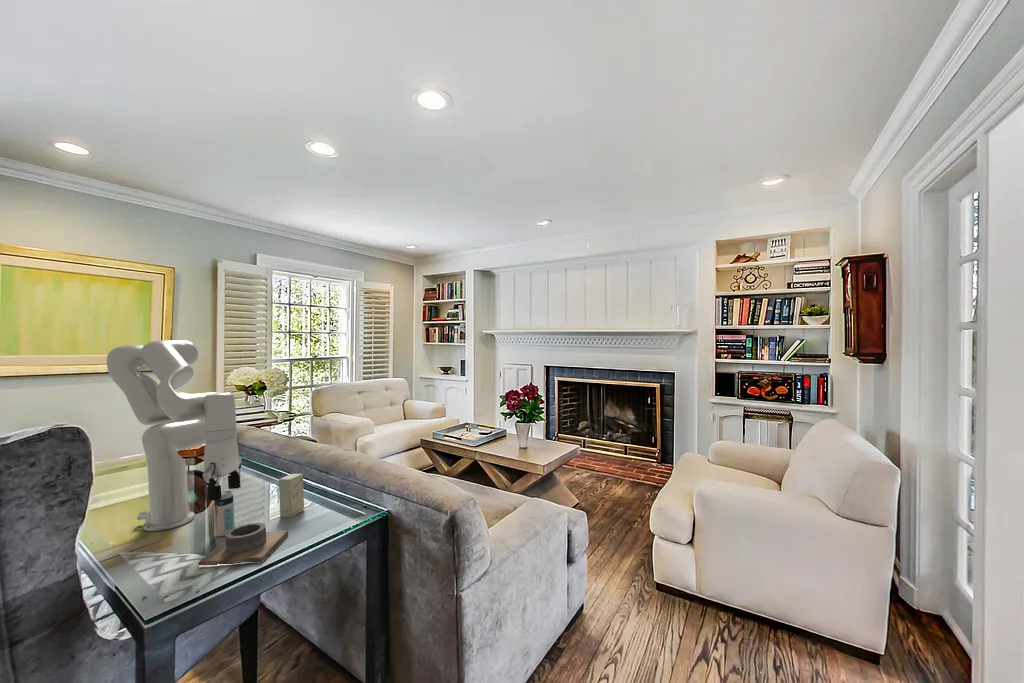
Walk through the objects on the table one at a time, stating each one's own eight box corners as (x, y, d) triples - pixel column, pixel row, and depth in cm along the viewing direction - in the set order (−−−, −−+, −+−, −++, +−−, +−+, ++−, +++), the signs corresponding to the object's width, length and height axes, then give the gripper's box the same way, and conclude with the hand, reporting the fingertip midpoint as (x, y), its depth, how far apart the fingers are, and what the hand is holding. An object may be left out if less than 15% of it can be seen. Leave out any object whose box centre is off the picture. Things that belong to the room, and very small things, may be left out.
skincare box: (291, 518, 132) (289, 479, 132) (279, 517, 133) (277, 479, 133) (305, 510, 138) (303, 473, 138) (293, 509, 139) (291, 473, 139)
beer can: (221, 531, 125) (219, 490, 125) (238, 529, 125) (236, 489, 125) (211, 538, 120) (209, 496, 120) (228, 537, 120) (227, 495, 120)
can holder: (198, 568, 104) (197, 546, 104) (232, 539, 118) (231, 520, 118) (262, 562, 105) (261, 540, 105) (288, 535, 120) (287, 516, 120)
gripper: (225, 430, 131) (228, 485, 130) (188, 443, 113) (191, 506, 113) (250, 428, 131) (254, 483, 131) (217, 440, 114) (221, 503, 114)
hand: (225, 493), depth 122 cm, fingers open, 9 cm apart
